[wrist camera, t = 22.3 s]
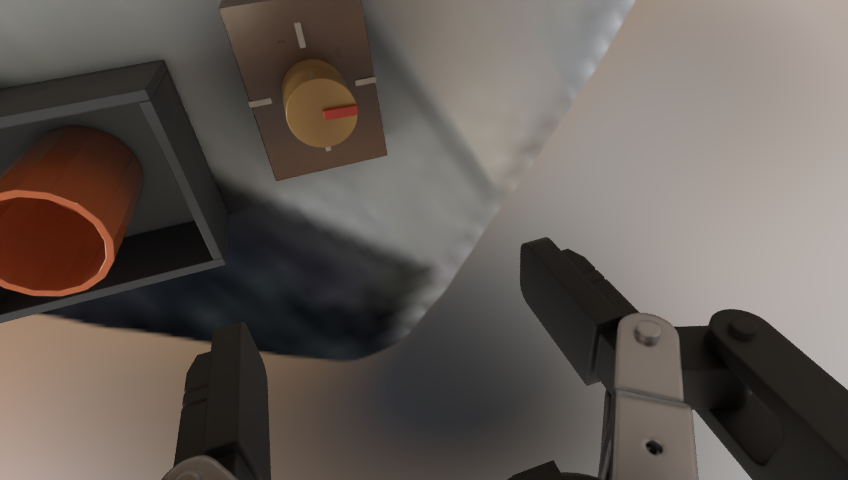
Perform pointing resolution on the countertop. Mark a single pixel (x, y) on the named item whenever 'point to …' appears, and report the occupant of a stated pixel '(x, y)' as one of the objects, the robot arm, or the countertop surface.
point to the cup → (66, 210)
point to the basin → (161, 164)
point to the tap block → (289, 44)
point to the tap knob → (318, 103)
